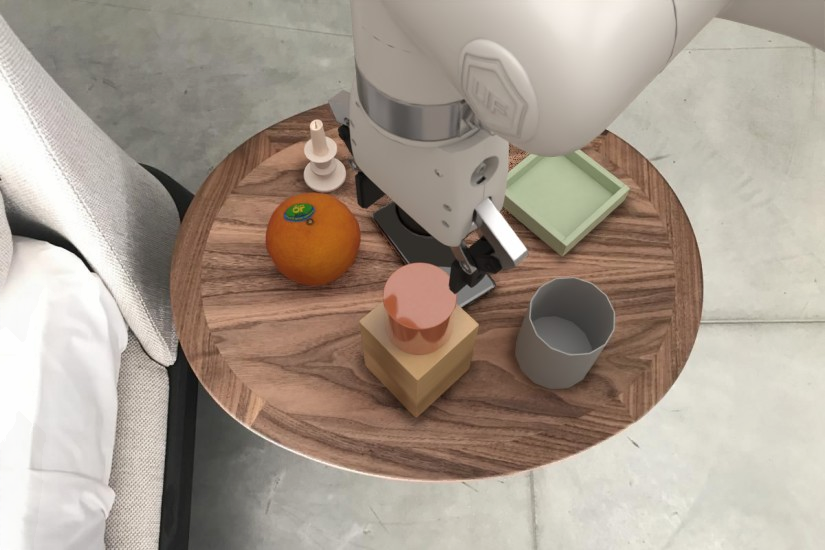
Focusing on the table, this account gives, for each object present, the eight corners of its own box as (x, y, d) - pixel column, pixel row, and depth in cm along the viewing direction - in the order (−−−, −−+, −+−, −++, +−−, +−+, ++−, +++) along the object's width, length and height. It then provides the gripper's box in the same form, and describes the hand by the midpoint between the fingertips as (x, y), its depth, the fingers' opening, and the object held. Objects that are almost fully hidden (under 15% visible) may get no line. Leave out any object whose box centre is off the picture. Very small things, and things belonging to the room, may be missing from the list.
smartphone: (446, 317, 79) (368, 213, 85) (445, 321, 80) (369, 218, 86) (499, 284, 81) (420, 185, 87) (498, 289, 82) (420, 190, 88)
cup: (504, 328, 80) (516, 289, 71) (572, 308, 81) (593, 267, 72) (532, 399, 76) (549, 366, 67) (604, 377, 77) (629, 342, 69)
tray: (624, 200, 88) (630, 188, 86) (562, 257, 84) (566, 246, 82) (553, 144, 92) (557, 131, 89) (490, 196, 88) (492, 184, 86)
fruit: (379, 267, 83) (376, 231, 76) (301, 312, 81) (291, 280, 74) (331, 202, 87) (325, 163, 80) (256, 244, 85) (242, 207, 78)
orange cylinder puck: (467, 324, 67) (472, 296, 62) (417, 368, 65) (418, 344, 60) (419, 279, 69) (421, 249, 64) (370, 321, 67) (367, 293, 62)
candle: (314, 199, 88) (303, 146, 78) (297, 168, 90) (285, 113, 81) (353, 183, 89) (346, 129, 80) (335, 152, 91) (327, 97, 82)
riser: (469, 368, 78) (479, 324, 67) (416, 418, 75) (417, 380, 65) (418, 319, 80) (420, 269, 70) (365, 365, 78) (358, 321, 67)
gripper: (598, 131, 36) (541, 282, 52) (370, -42, 42) (379, 140, 57) (496, 217, 34) (467, 349, 49) (269, 21, 40) (306, 194, 55)
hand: (420, 236), depth 53 cm, fingers open, 9 cm apart
